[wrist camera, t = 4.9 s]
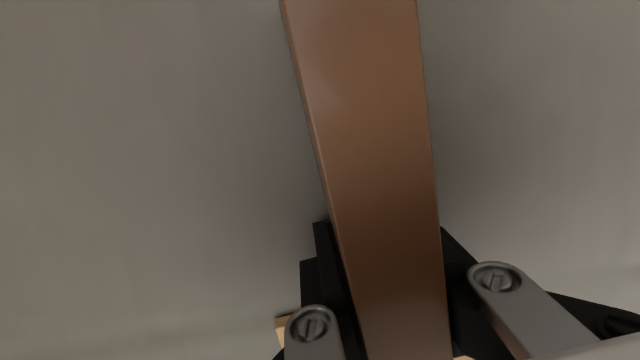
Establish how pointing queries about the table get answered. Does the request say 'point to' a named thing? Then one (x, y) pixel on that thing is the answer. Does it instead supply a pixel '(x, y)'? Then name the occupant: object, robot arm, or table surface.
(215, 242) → the table surface
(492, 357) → the robot arm
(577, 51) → the table surface
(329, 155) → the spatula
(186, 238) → the table surface
